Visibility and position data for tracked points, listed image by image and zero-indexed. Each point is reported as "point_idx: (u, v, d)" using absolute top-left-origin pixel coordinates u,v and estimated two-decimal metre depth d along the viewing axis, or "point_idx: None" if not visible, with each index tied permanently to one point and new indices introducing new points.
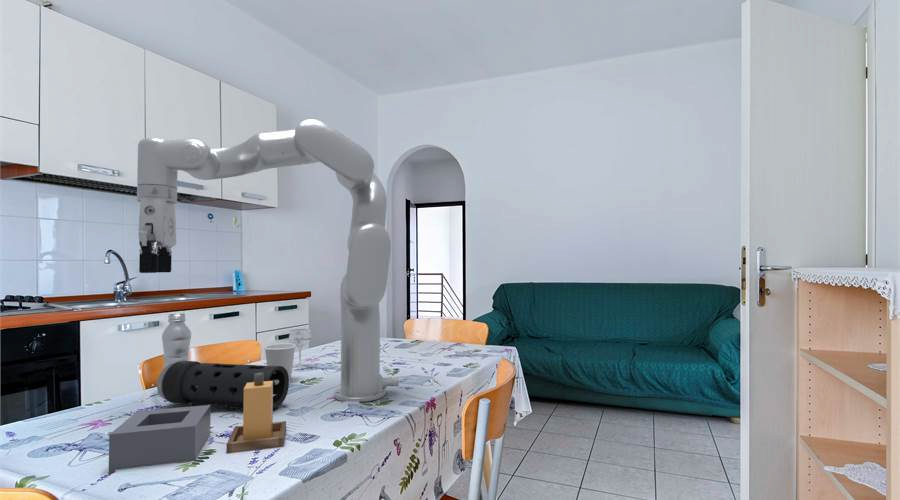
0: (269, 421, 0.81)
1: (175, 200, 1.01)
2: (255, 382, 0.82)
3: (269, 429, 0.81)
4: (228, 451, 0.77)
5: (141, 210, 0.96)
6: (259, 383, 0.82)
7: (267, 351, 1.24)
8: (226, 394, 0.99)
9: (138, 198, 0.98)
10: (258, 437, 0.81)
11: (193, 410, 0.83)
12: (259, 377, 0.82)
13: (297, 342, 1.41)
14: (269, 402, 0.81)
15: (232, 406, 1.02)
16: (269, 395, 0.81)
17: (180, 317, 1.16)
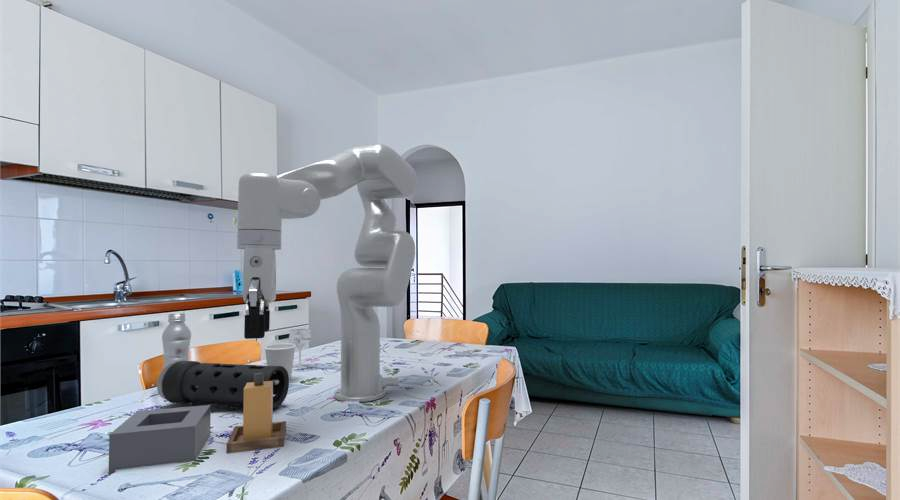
0: (269, 421, 0.81)
1: (280, 247, 0.84)
2: (255, 382, 0.82)
3: (269, 429, 0.81)
4: (228, 451, 0.77)
5: (246, 261, 0.79)
6: (259, 383, 0.82)
7: (267, 351, 1.24)
8: (226, 394, 0.99)
9: (240, 246, 0.81)
10: (258, 437, 0.81)
11: (193, 410, 0.83)
12: (259, 377, 0.82)
13: (297, 342, 1.41)
14: (269, 402, 0.81)
15: (232, 406, 1.02)
16: (269, 395, 0.81)
17: (180, 317, 1.16)
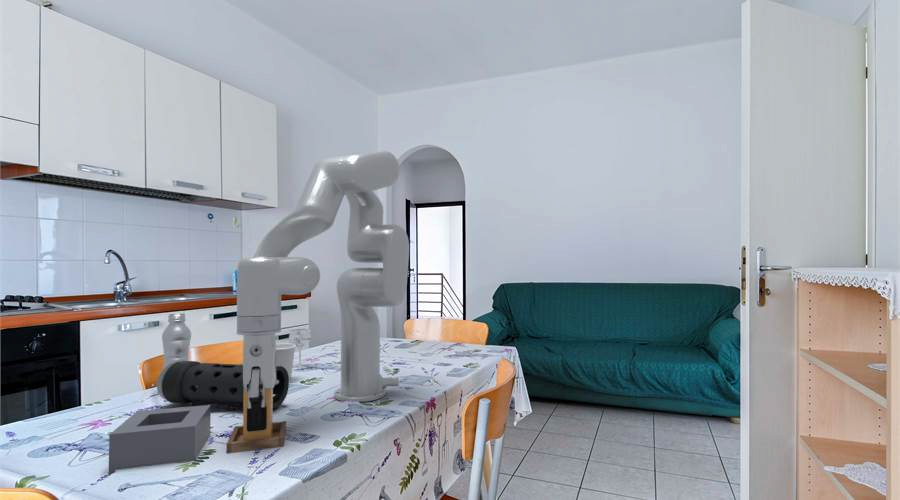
0: (269, 421, 0.81)
1: (280, 329, 0.84)
2: None
3: (269, 429, 0.81)
4: (228, 451, 0.77)
5: (246, 351, 0.78)
6: None
7: None
8: (226, 394, 0.99)
9: (240, 333, 0.80)
10: (258, 437, 0.81)
11: (193, 410, 0.83)
12: None
13: (297, 342, 1.41)
14: (269, 402, 0.81)
15: (232, 406, 1.02)
16: (269, 395, 0.81)
17: (180, 317, 1.16)
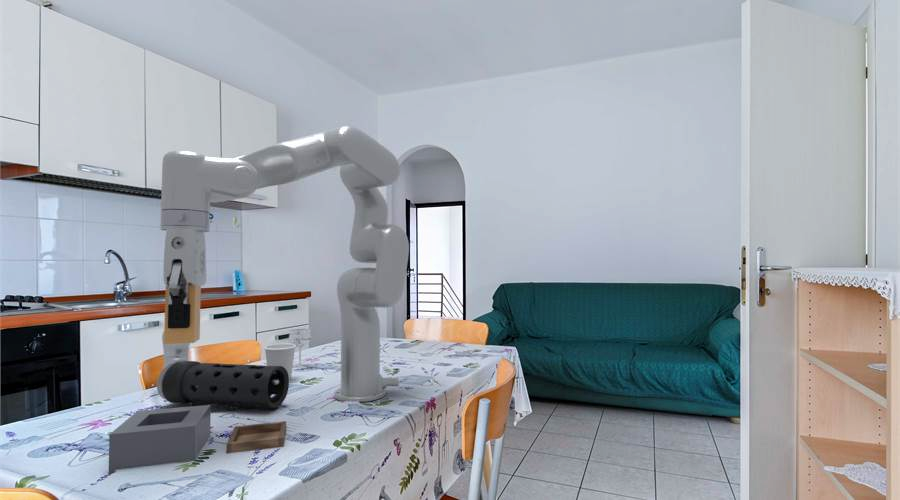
0: (193, 320, 0.78)
1: (208, 228, 0.81)
2: None
3: (193, 328, 0.78)
4: (228, 451, 0.77)
5: (167, 243, 0.75)
6: None
7: (267, 351, 1.24)
8: (226, 394, 0.99)
9: (162, 227, 0.77)
10: (180, 335, 0.77)
11: (193, 410, 0.83)
12: None
13: (297, 342, 1.41)
14: (193, 300, 0.78)
15: (232, 406, 1.02)
16: (193, 293, 0.78)
17: None
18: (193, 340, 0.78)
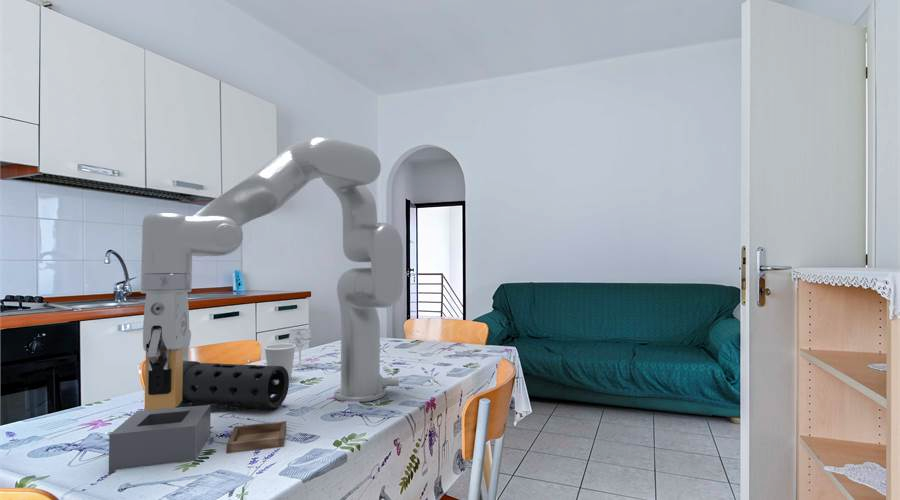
0: (174, 385, 0.77)
1: (189, 289, 0.80)
2: None
3: (174, 393, 0.77)
4: (228, 451, 0.77)
5: (146, 309, 0.74)
6: None
7: (267, 351, 1.24)
8: (226, 394, 0.99)
9: (142, 291, 0.76)
10: (161, 401, 0.76)
11: (193, 410, 0.83)
12: None
13: (297, 342, 1.41)
14: (174, 365, 0.77)
15: (232, 406, 1.02)
16: (174, 357, 0.77)
17: None
18: (174, 405, 0.77)
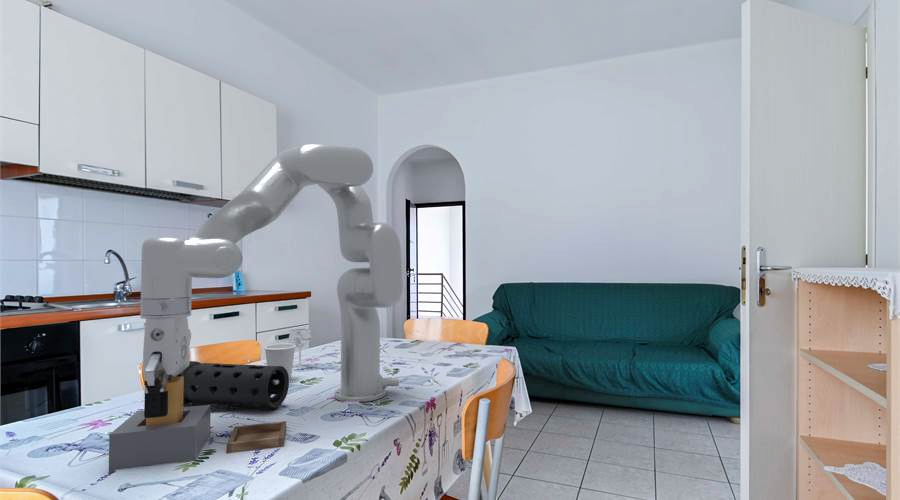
0: (175, 418, 0.77)
1: (189, 313, 0.80)
2: None
3: None
4: (228, 451, 0.77)
5: (146, 335, 0.74)
6: None
7: (267, 351, 1.24)
8: (226, 394, 0.99)
9: (142, 316, 0.76)
10: None
11: (193, 410, 0.83)
12: None
13: (297, 342, 1.41)
14: (175, 398, 0.77)
15: (232, 406, 1.02)
16: (175, 391, 0.77)
17: None
18: None
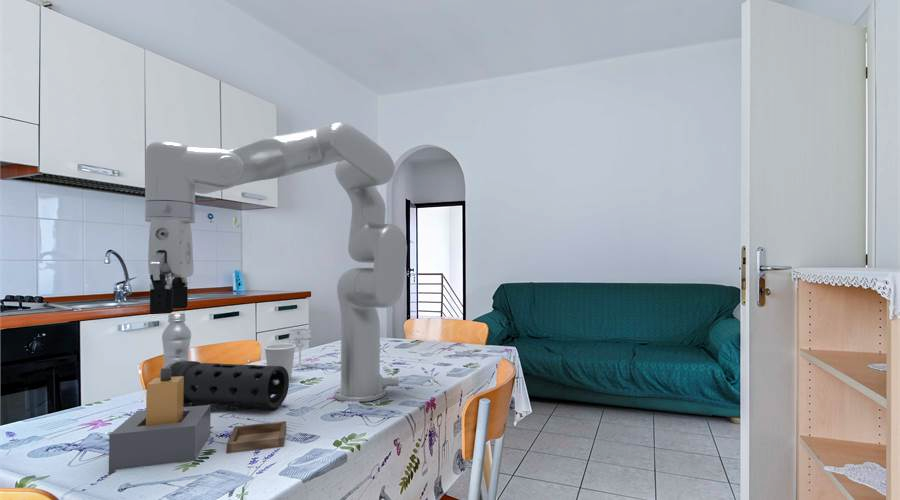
0: (175, 418, 0.77)
1: (193, 219, 0.81)
2: (161, 377, 0.78)
3: None
4: (228, 451, 0.77)
5: (151, 234, 0.75)
6: (165, 378, 0.78)
7: (267, 351, 1.24)
8: (226, 394, 0.99)
9: (147, 218, 0.77)
10: None
11: (193, 410, 0.83)
12: (165, 372, 0.78)
13: (297, 342, 1.41)
14: (175, 398, 0.77)
15: (232, 406, 1.02)
16: (175, 391, 0.77)
17: (180, 317, 1.16)
18: None
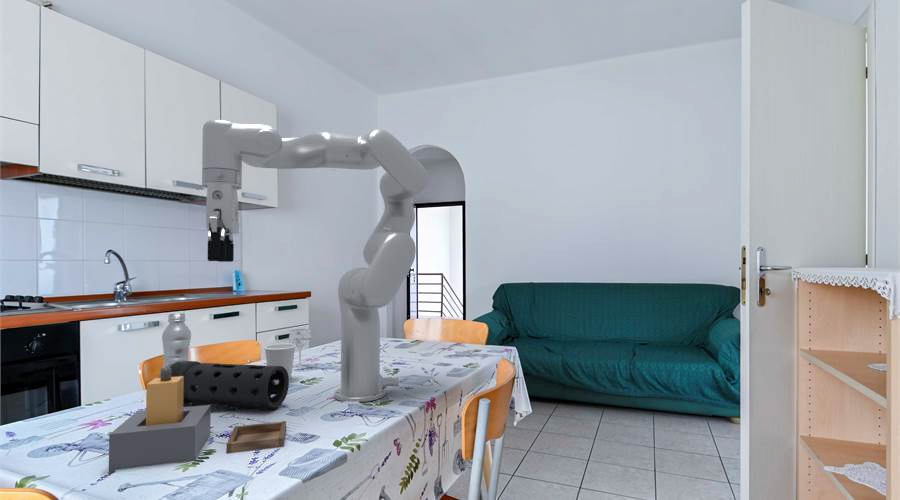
0: (175, 418, 0.77)
1: (240, 185, 0.97)
2: (161, 377, 0.78)
3: None
4: (228, 451, 0.77)
5: (209, 195, 0.91)
6: (165, 378, 0.78)
7: (267, 351, 1.24)
8: (226, 394, 0.99)
9: (204, 183, 0.93)
10: None
11: (193, 410, 0.83)
12: (165, 372, 0.78)
13: (297, 342, 1.41)
14: (175, 398, 0.77)
15: (232, 406, 1.02)
16: (175, 391, 0.77)
17: (180, 317, 1.16)
18: None
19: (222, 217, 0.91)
